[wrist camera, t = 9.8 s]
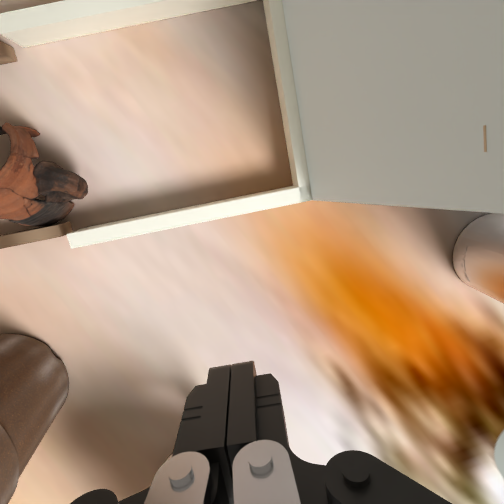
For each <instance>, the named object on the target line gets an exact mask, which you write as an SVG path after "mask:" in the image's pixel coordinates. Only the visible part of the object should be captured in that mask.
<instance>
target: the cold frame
mask: <svg viewBox="0 0 504 504" xmlns="http://www.w3.org/2000/svg"><path fill="white" fill-rule="evenodd" d="M252 1H257V0H63V1H58V2H53V3H49V4H44V5H39V6H34V7H29V8H24V9H19V10H14V11H9V12H4V13H0V34H1V35H2V36H4V37H6V38H8V39H9V40H11V41H13V42H15V43H16V44H18V45H20V46H22V47H23V48H26V47H31V46H36V45H41V44H46V43H51V42H56V41H60V40H65V39H70V38H75V37H80V36H85V35H90V34H95V33H100V32H105V31H110V30H115V29H120V28H124V27H129V26H134V25H139V24H144V23H149V22H154V21H159V20H164V19H169V18H174V17H179V16H183V15H188V14H193V13H198V12H203V11H208V10H213V9H218V8H223V7H228V6H233V5H238V4H243V3H247V2H252ZM263 5H264V11H265V17H266V23H267V30H268V36H269V42H270V48H271V54H272V60H273V66H274V72H275V78H276V84H277V90H278V96H279V103H280V109H281V115H282V121H283V127H284V133H285V139H286V145H287V151H288V157H289V163H290V170H291V176H292V182H293V186H289V187H284V188H279V189H275V190H270V191H265V192H260V193H255V194H250V195H245V196H240V197H235V198H230V199H225V200H220V201H215V202H210V203H205V204H200V205H195V206H190V207H185V208H180V209H175V210H170V211H166V212H161V213H156V214H151V215H146V216H141V217H136V218H131V219H126V220H121V221H116V222H111V223H106V224H101V225H96V226H91V227H86V228H81V229H79V230H76V231H74V232H71V233H68V234H66V235H67V238H68V241H69V244H70V247H71V249H72V248H77V247H82V246H87V245H92V244H97V243H102V242H107V241H112V240H117V239H122V238H127V237H132V236H137V235H142V234H147V233H152V232H157V231H161V230H166V229H171V228H176V227H181V226H186V225H191V224H196V223H201V222H206V221H211V220H216V219H221V218H226V217H231V216H236V215H241V214H246V213H251V212H256V211H261V210H266V209H271V208H276V207H280V206H285V205H290V204H295V203H300V202H305V201H310V200H317V201H331V202H345V203H359V204H374V205H388V206H402V207H416V208H431V209H445V210H459V211H473V212H488V213H502V214H504V0H263Z"/></svg>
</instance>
